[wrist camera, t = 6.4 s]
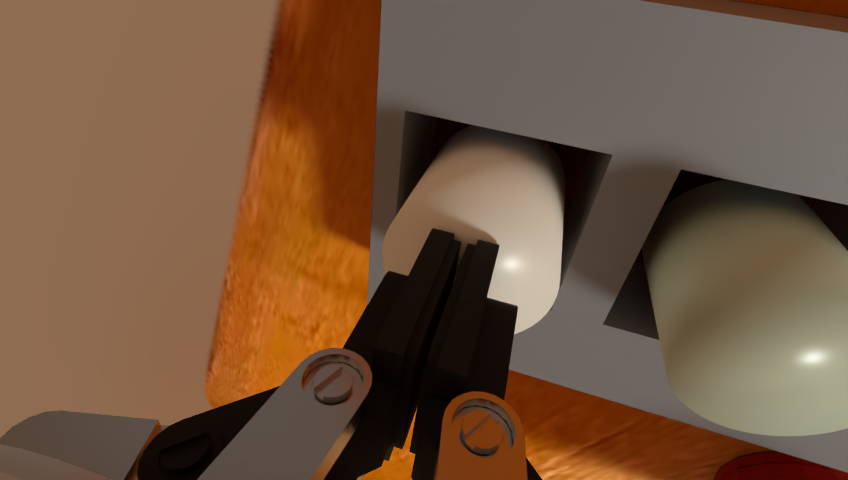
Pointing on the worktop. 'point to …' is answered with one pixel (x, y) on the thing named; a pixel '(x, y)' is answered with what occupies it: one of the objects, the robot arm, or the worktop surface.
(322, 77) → the worktop surface
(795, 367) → the sage button
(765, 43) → the panel
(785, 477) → the plastic cup
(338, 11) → the worktop surface
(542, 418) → the worktop surface
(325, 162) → the worktop surface
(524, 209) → the ivory button
